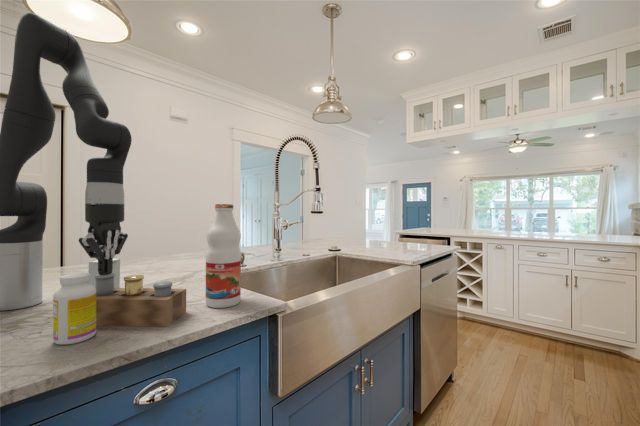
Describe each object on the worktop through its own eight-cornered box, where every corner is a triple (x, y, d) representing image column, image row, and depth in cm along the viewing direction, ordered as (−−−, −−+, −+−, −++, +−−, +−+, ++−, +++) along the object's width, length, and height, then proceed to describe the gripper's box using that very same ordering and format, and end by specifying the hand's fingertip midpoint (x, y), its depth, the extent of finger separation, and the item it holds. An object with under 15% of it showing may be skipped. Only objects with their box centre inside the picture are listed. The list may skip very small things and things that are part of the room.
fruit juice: (244, 298, 85) (245, 204, 85) (235, 309, 76) (236, 204, 75) (212, 297, 85) (213, 204, 85) (199, 308, 76) (200, 203, 75)
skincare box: (100, 307, 76) (100, 262, 76) (87, 305, 77) (87, 261, 77) (120, 300, 82) (120, 258, 82) (108, 299, 83) (108, 258, 83)
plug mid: (119, 308, 66) (119, 278, 66) (131, 303, 70) (131, 274, 70) (136, 309, 66) (136, 278, 66) (147, 303, 70) (147, 274, 70)
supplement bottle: (104, 331, 61) (104, 271, 61) (79, 346, 54) (79, 279, 54) (72, 331, 61) (72, 271, 61) (43, 346, 54) (43, 279, 54)
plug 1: (89, 306, 66) (90, 276, 66) (103, 300, 70) (103, 272, 70) (106, 306, 66) (107, 276, 66) (119, 301, 70) (119, 272, 70)
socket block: (74, 325, 64) (74, 298, 64) (104, 311, 73) (104, 287, 73) (167, 326, 64) (167, 299, 64) (186, 312, 73) (186, 288, 73)
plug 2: (149, 315, 66) (149, 285, 66) (159, 309, 70) (159, 281, 70) (166, 316, 66) (166, 285, 66) (175, 310, 70) (175, 281, 70)
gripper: (110, 203, 75) (110, 268, 75) (65, 201, 62) (65, 281, 62) (138, 203, 75) (138, 268, 75) (99, 201, 62) (99, 281, 62)
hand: (105, 274), depth 68 cm, fingers closed
